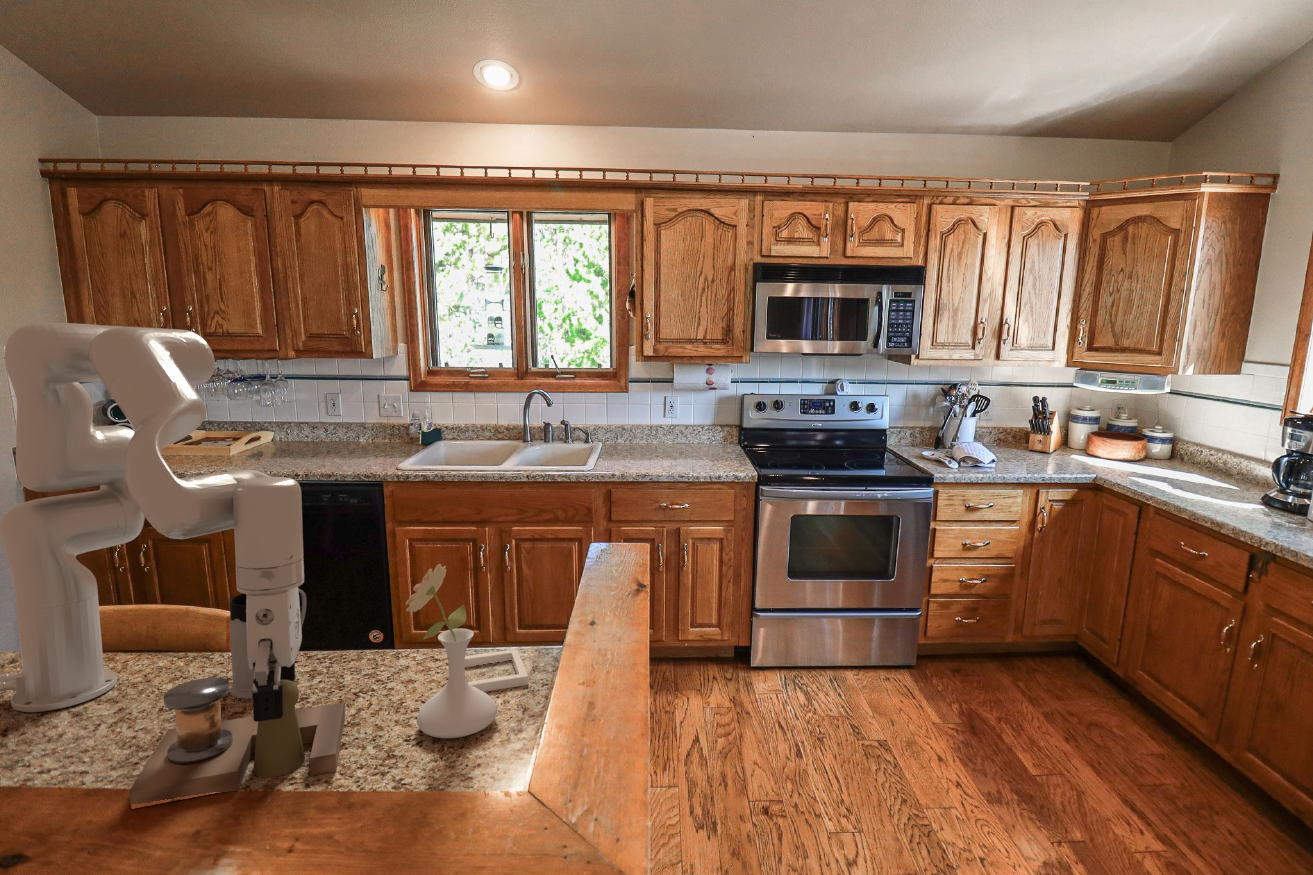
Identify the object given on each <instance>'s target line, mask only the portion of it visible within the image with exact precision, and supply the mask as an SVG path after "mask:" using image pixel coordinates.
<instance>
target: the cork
mask: <svg viewBox="0 0 1313 875" xmlns="http://www.w3.org/2000/svg"><path fill="white" fill-rule="evenodd" d="M280 686H283V716H282V718H279V719H272V720H265V721H258V728H257V738H256V748H255V752H254V758H253V759H254V760H253V769H252V770H253V773H254V774H255V775H256V776H257V777H260V778H269V779H270V778H277V777H281V776H283V775H287V774H289V773H292V772H293V771H295V770H297V769H298V768H301V766H302V765H303V764H304V763H305V761H306V753H305V749H304V744H303V743H302V739H301V734H300V729H299V724H298V719H297V715H296V710H297V709H296V705H297V703H298V701H299V697H300V690H299V688H298V685H297V683H295V681H294V682H293V681H290V680H280Z"/></svg>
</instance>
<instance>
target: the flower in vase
mask: <svg viewBox="0 0 1313 875" xmlns="http://www.w3.org/2000/svg"><path fill="white" fill-rule="evenodd" d="M446 567H447V566H446V565H444V566H442V564H441V563H439V564H437V565H436V566H435V568H434V570H433V568H429V569H428V570H427V571H426V573H425V575H424V576H423V577H422V581H421V582H420V583H417V584H415V585H414V586H413V588H412V590H413V592H414V593H413V594H411V595H410V596H409V598H408V599H407V601H405V606H408V607H407V608H406V609H405V610H406V612H409V613H412V612H414V613H416V612H418V611H419V610H421V609H422V608H423V607H424V606H426V604H428V602H429V601H430V600H432V599H433V598H435V601H436V603H437V605H438V607H439V609H440V612H441V615H442V618H443V620H444V621H438V622H435V623H434V624H433V625H431V627H429V628H428V629H427V631H426V632H425V633H424V635H423V638H422V640H423V641H424V640H425V639H429V638H433V637H435V636H436V635H438V636H437V639H438V641H439V642H440V643H441V644H442V646H443V647H444V649H445V652H446V656H447V657H446V658H447V664H448V678H447V681H446V682H447V683H446V685H445V686H444V687H443V688H442V689H441V690H439V691H438V692H437V693H435V694H434V695H433V696H432V697H431V698H429V699H428V700H427V701H426V702H425V703H424V704H423V706H421V708H420V709H419V712H418V714H417V717H416V725H417V727H418V728H419V729H420V730H421V731H422V732H423V733H424V734H426V735H427V736H430V737H434V738H439V739H454V738H456V739H457V738H462V737H467V736H470V735H472V734H473V735H474V734H476V733H478V732H481V731H482V730H483V729H485V728H486V727H488V726H489V725H491V723H492V722H493V720H494V719H495V718H496V716H497V714H498V706H497V704H496V702H495V700H494V699H493V697H491V696H490V695H489V694H487V693H486V691H485V692H483V691H481V690H479V689H477V688H475V687H473V686H472V685H470V684H469V683H468V682H469V681H468V680H467V678H466V672H465V671H466V670H465V668H466V667H465V656H466V653H467V648H468V646H469V643H470V641H471V640H472V639H473V637H474V635H475V634H474V631H473V630H471V629H468V628H459V627H461V626H462V625H464V624H465V623H466V622H467V611H466V607H465V604H462V605H461V606H460V607H458V608H457V609H456V610H454V611H453V612H452V613H451V614H450V615H449V616H448V617H446V614H445V610H444V608H443V606H442V603H441V601H440V600H439V597H438V595H437V592H438V590H439V589H440V587H442V586H443V583H444V579H445V577H446V573H447V569H446ZM445 625H446V627H447V628H448V630H444V631H442V632H441V633H440V631H441V630H442V629H443V627H444V626H445ZM439 633H440V634H439Z"/></svg>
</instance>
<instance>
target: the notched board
mask: <svg viewBox="0 0 1313 875" xmlns="http://www.w3.org/2000/svg"><path fill="white" fill-rule="evenodd" d="M295 710H296V715H297V719H298V724H299V729H300V734H301V739H302V743H303V745H305V744H310V743H312V746H311V747H312V748H311V752H310V756H309V771H310V772H309V773H310V777H315V776H320V775H326V774H332V773H336V772H337V770H338V762H339V757H340V752H341V751H340V750H341V745H342V739H343V732H344V727H345V720H346V715H345V714H346V713H345V712H346V707H345V702H339V703H331V704H326V705H318V706H313V707H305V708H300V709H295ZM221 721H222V729H225V730H228V731H230V732H231V733H232V738H233V743H232V745H231V746H230V748H229V749H228V750H226V751H225V752H224V753H222V754H220V755H219V756H217V757H215V758H212V759H210V760H207V761H204V762H200V763H196V764H190V765H176V764H172V763H170V762H169V761H168V754H167V751H168V749H169V747H170V746H171V745H172V744H173V743H174V742H176V741H177V728H176V727H175V728H169V729H167V730H166V732H165V734H164V735H163V737H162V738H161V740H160V741H159V743H158V744H157V746H156V748H155V749H154V750H153V752H152V754H151V756H150V757H149V758H148V760H147V762H146V764H145V765H144V766H143V768H142V769H141V771H140V773H139V775H138V776H137V777H136V779H135V780H134V782H133V784H132V785H131V787H130V788H129V802H130V805H131V804H141V803H150V802H153V801H160V800H165V799H167V800H168V799H174V798H177V797H185V796H190V795H199V794H206V793H210V792H211V793H212V792H225V793H230V792H235V791H239V790H240V787H241V785H242V782H243V780H244V777H245V774H246V772H247V770H248V769H247V768H248V767H249V763H250V760H251V758H252V755H253V753H254V754H255V748H256V738H257V728H258V722H255V721H254V720H253V715H252V716H248V717H241V718H233V719H227V720H221ZM229 791H230V792H229Z"/></svg>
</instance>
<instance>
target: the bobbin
mask: <svg viewBox="0 0 1313 875" xmlns="http://www.w3.org/2000/svg"><path fill="white" fill-rule="evenodd" d="M230 689H231V687H230V681H229V680H228V679H226V678H223V677H214V676H212V677H203V678H202V677H201V678H198V679H192V680H189V681H186V682H183V683H180V684H179V685H176V686H174V687H173V688H171V689H169V690H167V691H166V692H165V693H164V695H163V706H164V707H165V708H167V709H168V710H169V709H170V710H175V711H174V712H175V725H176V727H175V728H177V741H176V742H174V743H173V744H172V745H171V746H170V747H169V749H168V751H167V754H168V761H169V762H170V763H172V764H176V765H190V764H196V763H200V762H204V761H207V760H210V759H212V758H215V757H217V756H219V755H220V754H222V753H224V752H225V751H226V750H228V749H229V748H230V746H231V745H232V743H233V738H232V733H231V732H230V731H228V730H225V729H222V721H223V720H222V710H221V708H222V707H221V699H223V698H225V697H226V695H228V694H229V693H230Z"/></svg>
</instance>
